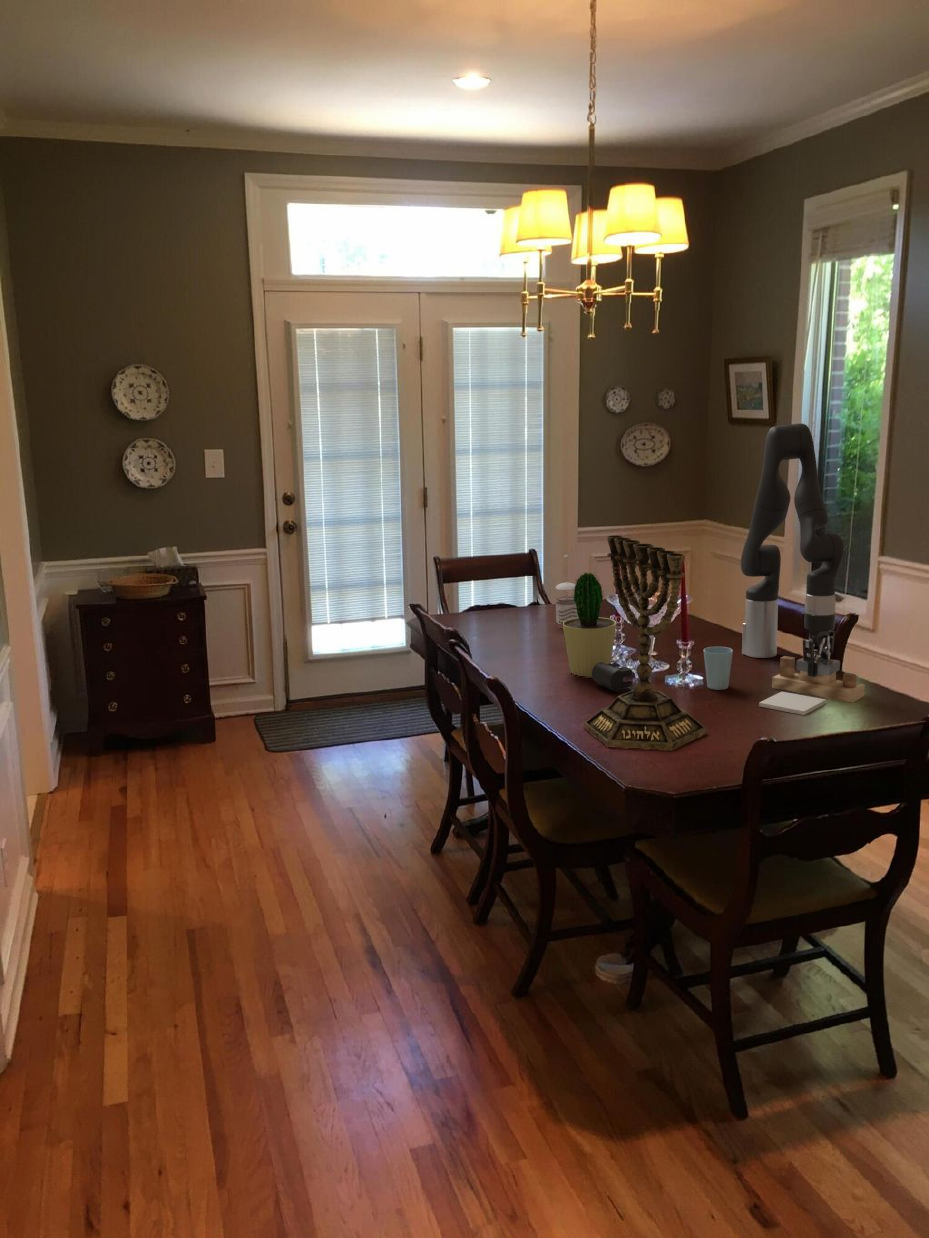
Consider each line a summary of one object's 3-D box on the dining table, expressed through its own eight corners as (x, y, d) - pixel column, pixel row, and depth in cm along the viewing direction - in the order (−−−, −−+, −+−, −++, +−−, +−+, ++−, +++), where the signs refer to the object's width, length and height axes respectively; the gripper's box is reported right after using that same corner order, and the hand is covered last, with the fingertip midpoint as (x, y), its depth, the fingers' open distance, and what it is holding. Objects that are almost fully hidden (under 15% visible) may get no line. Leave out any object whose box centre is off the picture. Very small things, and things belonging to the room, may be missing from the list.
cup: (711, 692, 268) (712, 654, 266) (698, 685, 275) (698, 648, 273) (737, 689, 270) (738, 651, 268) (722, 681, 277) (723, 645, 275)
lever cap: (796, 669, 264) (796, 657, 264) (806, 664, 268) (807, 652, 268) (829, 675, 258) (829, 662, 257) (839, 669, 262) (840, 657, 262)
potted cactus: (625, 675, 287) (625, 572, 281) (576, 682, 283) (573, 577, 277) (603, 662, 302) (602, 564, 295) (555, 668, 298) (553, 568, 291)
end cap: (591, 686, 278) (591, 663, 277) (613, 682, 281) (613, 659, 280) (610, 695, 269) (610, 671, 268) (633, 691, 272) (633, 667, 271)
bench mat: (759, 706, 255) (759, 702, 255) (781, 695, 263) (781, 691, 263) (804, 715, 247) (804, 711, 246) (825, 703, 255) (825, 699, 255)
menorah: (730, 748, 226) (733, 551, 216) (627, 763, 220) (625, 560, 210) (658, 703, 261) (658, 531, 251) (567, 715, 254) (564, 539, 245)
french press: (551, 623, 356) (549, 553, 351) (583, 621, 357) (581, 551, 352) (556, 629, 346) (554, 558, 341) (589, 627, 348) (588, 556, 342)
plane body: (772, 687, 270) (772, 659, 268) (784, 681, 275) (785, 653, 273) (852, 702, 255) (853, 672, 253) (864, 695, 259) (865, 666, 258)
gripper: (818, 604, 267) (816, 665, 271) (793, 614, 257) (791, 677, 261) (846, 607, 262) (843, 669, 266) (821, 617, 252) (819, 682, 256)
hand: (817, 673), depth 263 cm, fingers closed on lever cap, 6 cm apart
